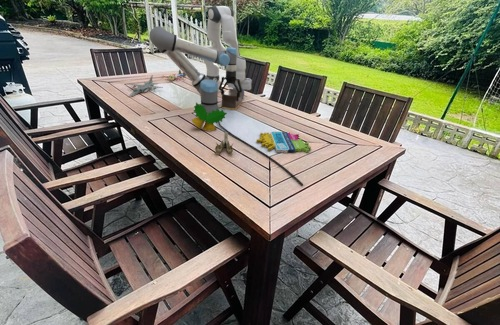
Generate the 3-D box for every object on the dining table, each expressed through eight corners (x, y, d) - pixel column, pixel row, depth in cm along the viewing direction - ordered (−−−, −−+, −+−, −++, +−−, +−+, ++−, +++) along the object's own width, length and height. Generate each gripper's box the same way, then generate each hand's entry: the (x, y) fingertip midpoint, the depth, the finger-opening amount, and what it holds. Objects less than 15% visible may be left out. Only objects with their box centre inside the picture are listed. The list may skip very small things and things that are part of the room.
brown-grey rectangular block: (229, 101, 219) (229, 88, 214) (241, 103, 217) (242, 90, 212) (221, 107, 202) (221, 94, 197) (235, 109, 201) (235, 96, 195)
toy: (194, 71, 288) (181, 75, 262) (194, 77, 291) (182, 82, 265) (171, 68, 293) (156, 72, 267) (171, 75, 296) (157, 79, 270)
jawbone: (234, 135, 144) (233, 125, 135) (233, 160, 138) (232, 151, 129) (217, 135, 144) (216, 125, 135) (216, 160, 138) (214, 150, 129)
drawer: (234, 96, 230) (234, 86, 226) (245, 97, 229) (245, 87, 225) (226, 103, 210) (226, 92, 206) (238, 104, 209) (238, 94, 205)
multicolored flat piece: (313, 150, 142) (258, 149, 139) (312, 153, 143) (258, 152, 140) (301, 132, 164) (254, 130, 161) (301, 134, 165) (254, 133, 162)
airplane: (123, 86, 237) (121, 75, 232) (158, 84, 251) (157, 74, 246) (127, 99, 209) (125, 86, 204) (167, 96, 222) (166, 84, 217)
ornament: (218, 133, 171) (224, 110, 169) (221, 134, 163) (227, 111, 161) (186, 125, 162) (192, 101, 160) (189, 126, 155) (195, 101, 153)
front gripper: (247, 71, 192) (246, 100, 203) (217, 68, 196) (217, 96, 207) (245, 73, 186) (243, 103, 197) (214, 69, 190) (214, 99, 201)
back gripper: (252, 78, 220) (251, 94, 227) (229, 75, 224) (229, 91, 231) (251, 79, 215) (250, 96, 222) (227, 76, 218) (227, 93, 225)
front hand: (230, 100), depth 202 cm, fingers closed on brown-grey rectangular block, 11 cm apart
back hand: (239, 93), depth 226 cm, fingers closed, pressing on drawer
